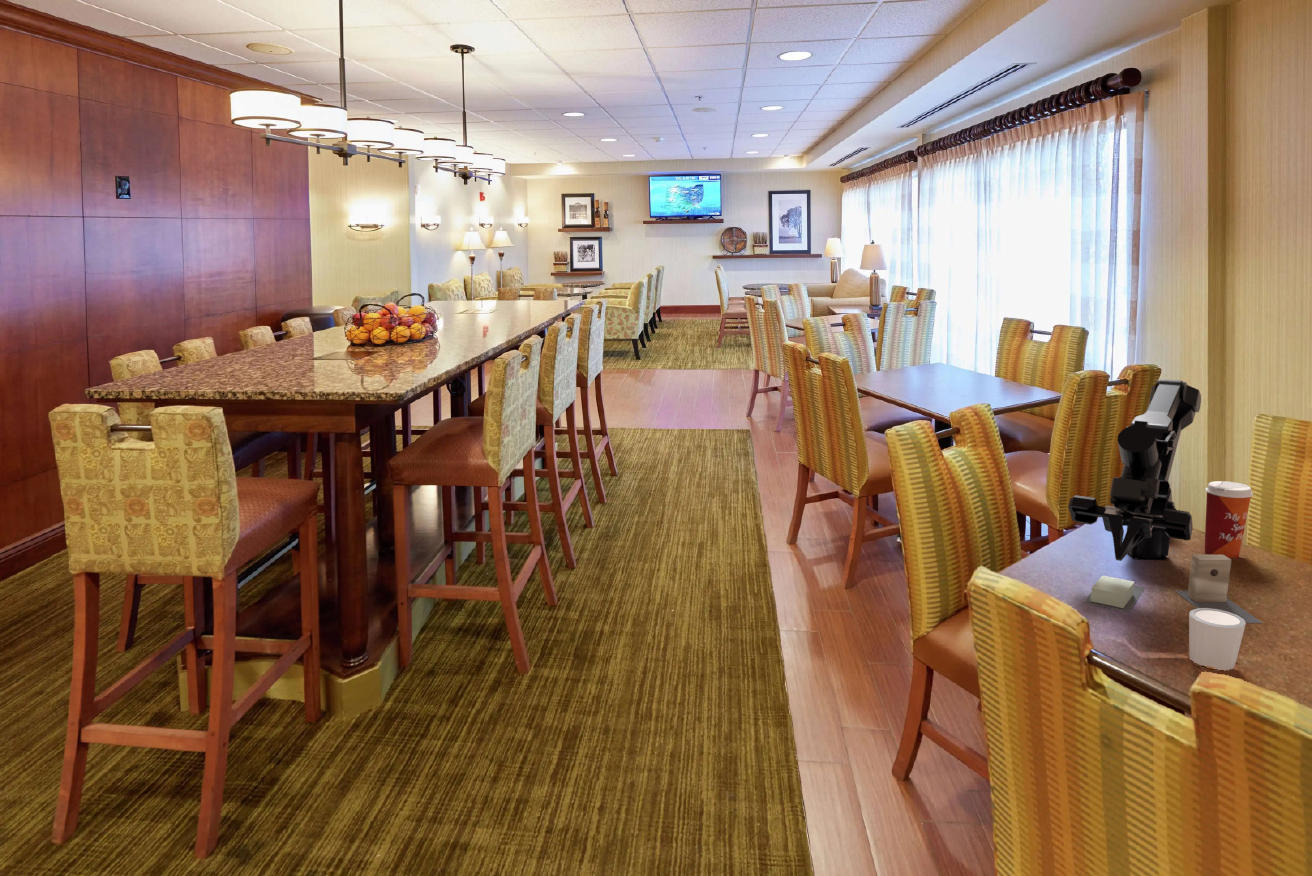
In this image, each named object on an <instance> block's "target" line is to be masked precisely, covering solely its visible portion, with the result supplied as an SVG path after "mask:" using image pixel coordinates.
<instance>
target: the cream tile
mask: <svg viewBox="0 0 1312 876" xmlns="http://www.w3.org/2000/svg"><path fill="white" fill-rule="evenodd" d="M1190 563H1191V564H1190V571H1189V572H1190V573H1189V580H1188V589H1187V591H1188V597H1190V598H1191V599H1192V600H1194V601H1195V602H1226V600H1227V598H1228V589H1229V583H1230V582H1229V581H1230V574H1231V565H1232V558H1228V557H1226V556H1225V555H1207V554H1192V555H1191V561H1190Z"/></svg>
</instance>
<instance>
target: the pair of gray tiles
mask: <svg viewBox="0 0 1312 876" xmlns="http://www.w3.org/2000/svg"><path fill="white" fill-rule="evenodd" d="M1145 590H1146V587H1145V586H1144V587H1143V586H1140V585H1135V584H1134V592H1133V596H1132V597H1131V599H1130V600H1129V601H1128V603H1127V604H1126V605H1125V607H1124V608H1120V607H1115V606H1111V605H1106V604H1101V603H1097V602H1092V601H1091V592H1090V593H1088V595H1087V596H1086V598H1085V599H1084V600H1083V603H1084V604H1088V605H1093V606H1098V607H1102V608H1106V609H1112V610H1115V611H1120V612H1125V613H1130V612H1131V610H1132V609H1133V607H1134V606H1135V604H1136V603H1137V601H1138V600H1139V598H1140V597H1141V595H1142V593H1143V592H1144V591H1145ZM1174 592H1175V593H1176V594H1178V595H1179V596H1180V597H1182V598H1183V599H1184V600H1186V601H1187V602H1188V603H1190V604H1191V605H1192V606H1194V608H1195V609H1198V608H1210V609H1218V610H1222V611H1227V612H1230V613H1233V614H1235V615H1238V616H1239V617H1241V618H1242V619H1244V621H1245V622H1246V624H1263V622H1262V621H1261V620H1259V618H1256V617H1255V616H1253V615H1252V614H1250V612H1248V611H1246V610H1245V609H1244V608H1243V607H1241V606H1239V605H1238V604H1236V603H1235V602H1234V601H1232V600H1231V599H1229V598H1228V597H1227V600H1226V602H1195V601H1194V600H1192V599H1191V598H1190V597H1188V590H1174Z"/></svg>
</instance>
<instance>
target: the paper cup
mask: <svg viewBox="0 0 1312 876" xmlns="http://www.w3.org/2000/svg"><path fill="white" fill-rule="evenodd" d="M1204 491H1205V492H1206V502H1205V503H1206V506H1205V508H1206V509H1205V527H1204V529H1205V530H1204V554H1205V553H1206V554H1205V555H1207V554H1208V555H1225V556H1226V557H1228V558H1229V559H1239V556H1240V552H1241V548H1242V542H1243V538H1244V532H1245V528H1246V523H1247V518H1248V514H1249V513H1248V512H1249V508H1250V507H1249V506H1250V502H1251V498H1252V497H1253V496H1254V494H1253V492H1252V487H1250V486H1249V485H1248V484H1244V483H1240V482H1235V481H1224V480H1218V481H1217V480H1216V481H1210V482H1209V483H1208V484H1207V487H1206V488H1205V489H1204Z"/></svg>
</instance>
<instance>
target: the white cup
mask: <svg viewBox="0 0 1312 876" xmlns="http://www.w3.org/2000/svg"><path fill="white" fill-rule="evenodd" d="M1188 615H1189V616H1188V658H1189V657H1190V658H1189V660H1190V661H1191V660H1192V661H1194V662H1195V663H1197V664H1199V665H1204V666H1210V667H1214V668H1215V669H1218V670H1217V671H1219V670H1224V671H1223V672H1225V671H1226V670H1227V671H1231V670H1234V669H1235V667H1236V663H1237V660H1238V657H1239V656H1238V655H1239V651H1240V648H1241V644H1242V640H1243V636H1244V633H1245V632H1244V631H1245V628H1246V624H1247V623H1246V622H1245V621H1244V619H1242V618H1241V617H1239V616H1238V615H1235V614H1233V613H1230V612H1227V611H1222V610H1218V609H1210V608H1195V609H1191V610H1190V611H1189V613H1188ZM1192 661H1191V662H1192ZM1194 662H1193V663H1194ZM1195 663H1194V664H1195ZM1197 664H1196V665H1197ZM1199 665H1198V666H1199ZM1230 669H1231V670H1230Z"/></svg>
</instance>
